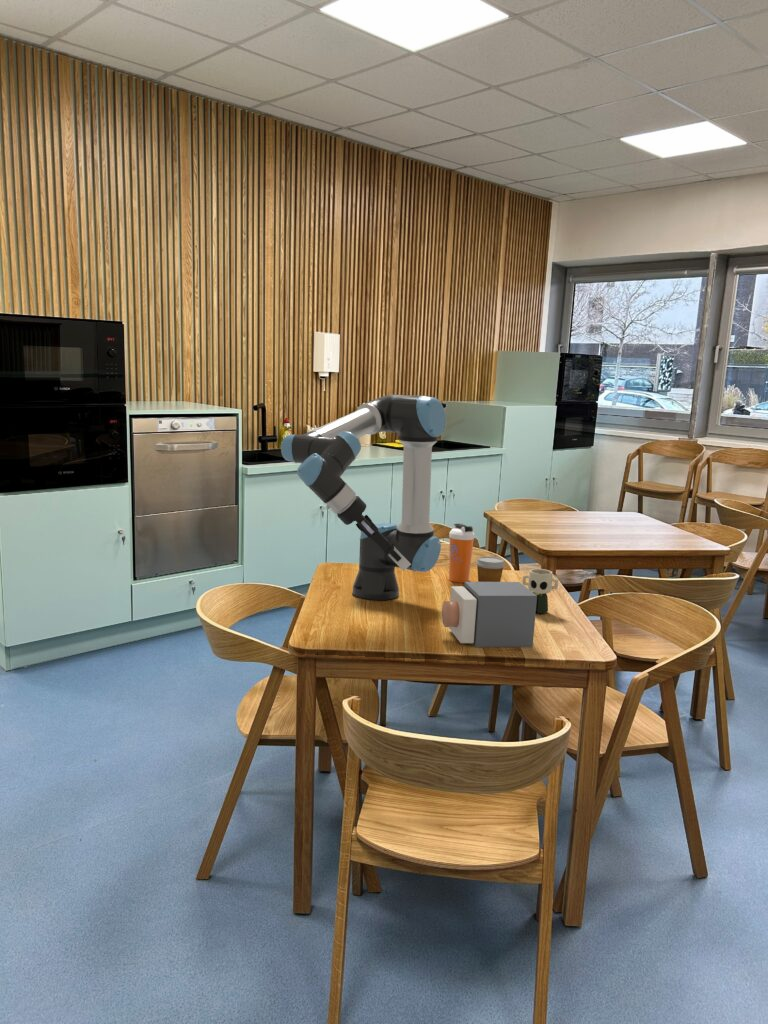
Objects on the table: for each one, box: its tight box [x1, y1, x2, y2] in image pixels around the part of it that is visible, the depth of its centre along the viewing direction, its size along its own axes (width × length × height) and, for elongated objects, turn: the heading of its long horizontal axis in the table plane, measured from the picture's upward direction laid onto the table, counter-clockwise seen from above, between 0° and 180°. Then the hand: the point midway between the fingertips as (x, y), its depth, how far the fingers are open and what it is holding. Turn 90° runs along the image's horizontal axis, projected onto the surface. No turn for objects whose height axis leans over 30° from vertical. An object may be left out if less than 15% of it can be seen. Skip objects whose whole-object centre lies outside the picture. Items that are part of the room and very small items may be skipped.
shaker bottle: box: [448, 523, 476, 584], centre depth 267 cm, size 9×9×20 cm
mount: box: [463, 581, 537, 648], centre depth 207 cm, size 16×14×14 cm
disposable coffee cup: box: [475, 556, 506, 582], centre depth 252 cm, size 10×10×12 cm
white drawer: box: [441, 585, 477, 644], centre depth 206 cm, size 21×13×12 cm, turn 100°
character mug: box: [521, 568, 559, 614], centre depth 234 cm, size 11×7×13 cm, turn 69°
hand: (406, 567), depth 200 cm, fingers closed
